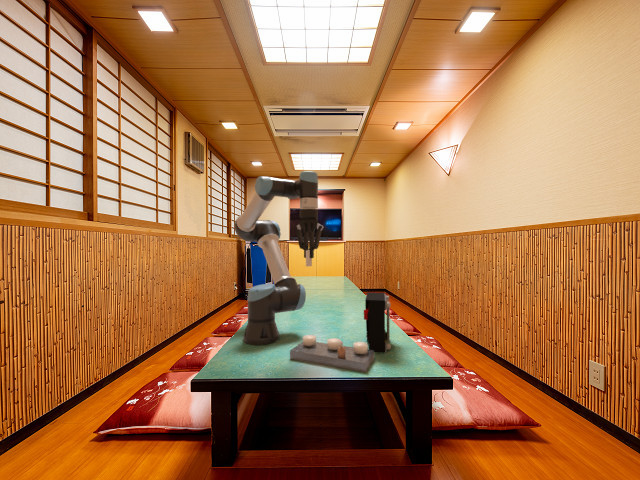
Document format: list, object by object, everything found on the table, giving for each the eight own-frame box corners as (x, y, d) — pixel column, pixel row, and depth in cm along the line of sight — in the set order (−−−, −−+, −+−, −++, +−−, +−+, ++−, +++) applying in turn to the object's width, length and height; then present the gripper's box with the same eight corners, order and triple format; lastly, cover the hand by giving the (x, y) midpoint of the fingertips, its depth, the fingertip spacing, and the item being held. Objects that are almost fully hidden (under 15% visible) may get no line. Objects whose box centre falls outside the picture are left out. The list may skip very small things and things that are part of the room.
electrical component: (390, 353, 110) (390, 300, 110) (363, 351, 112) (363, 299, 112) (389, 338, 127) (389, 292, 127) (365, 337, 129) (365, 292, 129)
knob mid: (325, 356, 105) (325, 341, 105) (330, 352, 110) (330, 337, 110) (338, 358, 103) (338, 343, 103) (342, 354, 108) (342, 339, 108)
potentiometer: (336, 357, 98) (336, 342, 98) (339, 354, 101) (339, 340, 101) (343, 358, 97) (343, 343, 97) (346, 355, 100) (346, 341, 100)
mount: (290, 358, 105) (290, 350, 105) (304, 347, 116) (304, 340, 116) (365, 372, 94) (365, 363, 94) (374, 358, 105) (374, 350, 105)
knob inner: (300, 352, 109) (300, 338, 109) (306, 348, 114) (306, 334, 114) (312, 354, 107) (312, 339, 107) (318, 350, 112) (318, 335, 112)
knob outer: (351, 361, 101) (351, 345, 101) (355, 356, 106) (355, 341, 106) (365, 363, 99) (365, 347, 99) (369, 358, 104) (369, 342, 104)
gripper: (290, 209, 119) (290, 266, 119) (319, 207, 114) (319, 267, 114) (299, 210, 126) (299, 265, 126) (326, 209, 121) (326, 265, 121)
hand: (308, 266), depth 120 cm, fingers closed
